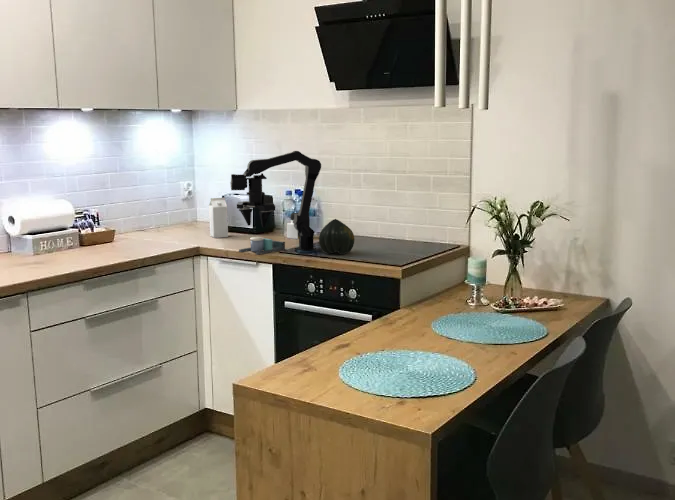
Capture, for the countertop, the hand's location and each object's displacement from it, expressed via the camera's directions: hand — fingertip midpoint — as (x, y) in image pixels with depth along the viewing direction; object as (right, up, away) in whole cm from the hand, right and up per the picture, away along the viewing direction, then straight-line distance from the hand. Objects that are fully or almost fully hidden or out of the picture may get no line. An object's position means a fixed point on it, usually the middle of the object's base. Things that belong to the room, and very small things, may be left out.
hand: (256, 226), depth 316 cm
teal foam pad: (+3, -10, +5) cm, 12 cm away
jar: (0, -10, +2) cm, 10 cm away
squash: (+34, -12, -3) cm, 36 cm away
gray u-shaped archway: (+3, -10, +5) cm, 12 cm away
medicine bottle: (+15, -4, +40) cm, 43 cm away
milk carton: (-23, -4, +45) cm, 51 cm away
